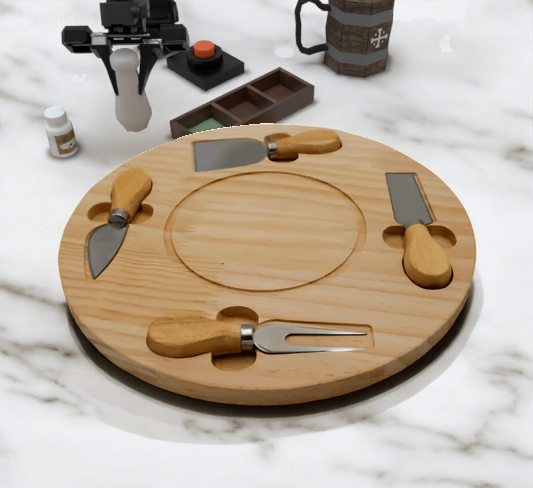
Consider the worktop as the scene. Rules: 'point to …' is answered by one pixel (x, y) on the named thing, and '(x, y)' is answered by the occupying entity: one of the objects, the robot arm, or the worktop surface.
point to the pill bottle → (60, 132)
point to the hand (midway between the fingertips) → (128, 95)
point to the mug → (352, 35)
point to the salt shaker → (129, 91)
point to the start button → (204, 49)
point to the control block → (206, 67)
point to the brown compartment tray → (248, 104)
